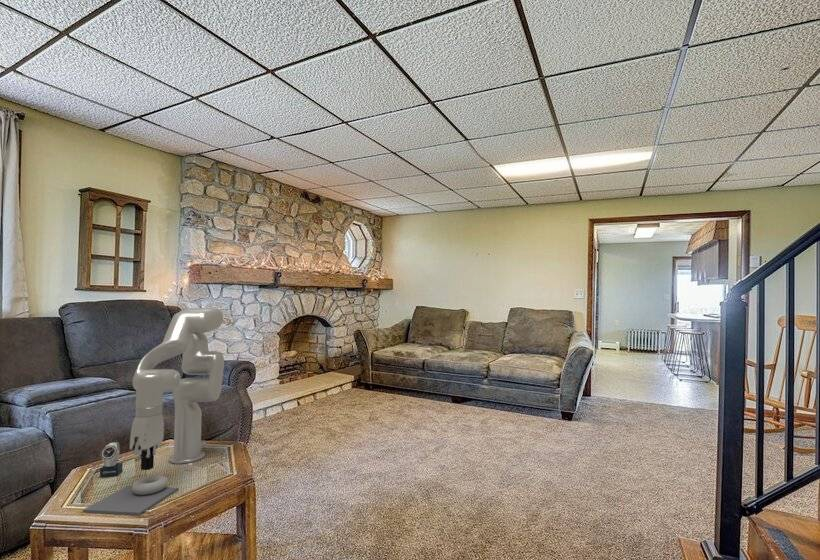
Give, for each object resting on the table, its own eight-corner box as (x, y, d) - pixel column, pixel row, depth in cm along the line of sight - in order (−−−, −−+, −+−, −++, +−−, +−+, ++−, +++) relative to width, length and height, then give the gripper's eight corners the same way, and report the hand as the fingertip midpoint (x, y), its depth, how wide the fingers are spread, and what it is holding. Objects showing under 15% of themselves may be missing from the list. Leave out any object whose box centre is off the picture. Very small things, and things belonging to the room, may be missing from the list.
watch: (97, 479, 147) (98, 447, 147) (107, 471, 154) (108, 440, 155) (115, 478, 148) (117, 446, 149) (124, 469, 156) (125, 439, 157)
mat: (127, 488, 140) (128, 485, 140) (178, 490, 138) (178, 487, 138) (82, 512, 123) (82, 509, 123) (139, 515, 121) (139, 512, 121)
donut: (143, 484, 141) (124, 497, 131) (143, 473, 141) (124, 485, 131) (173, 483, 141) (157, 496, 131) (174, 473, 141) (157, 484, 132)
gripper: (154, 406, 145) (152, 460, 144) (120, 417, 130) (118, 477, 129) (175, 406, 144) (173, 461, 143) (142, 417, 130) (140, 478, 128)
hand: (147, 468), depth 136 cm, fingers closed
